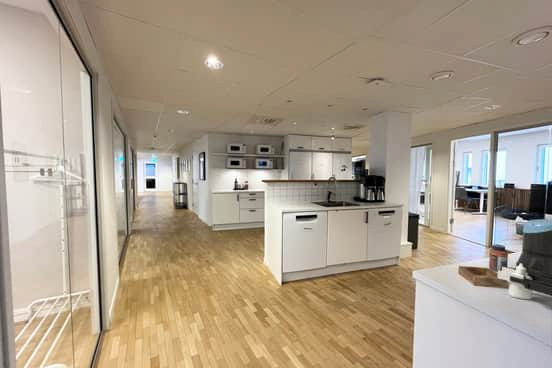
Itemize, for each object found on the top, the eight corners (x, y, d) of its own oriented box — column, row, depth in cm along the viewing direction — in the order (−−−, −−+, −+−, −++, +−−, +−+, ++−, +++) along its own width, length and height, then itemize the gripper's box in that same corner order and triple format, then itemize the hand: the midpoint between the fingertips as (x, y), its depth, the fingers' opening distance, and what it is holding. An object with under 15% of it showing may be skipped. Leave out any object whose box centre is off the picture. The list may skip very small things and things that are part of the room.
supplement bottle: (485, 266, 109) (486, 243, 108) (500, 267, 108) (501, 243, 107) (494, 272, 103) (496, 247, 102) (510, 273, 102) (512, 248, 101)
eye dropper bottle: (531, 302, 79) (532, 267, 79) (508, 295, 83) (509, 263, 83) (531, 297, 82) (533, 264, 81) (509, 291, 86) (510, 260, 86)
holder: (487, 275, 100) (487, 267, 99) (507, 288, 89) (507, 279, 89) (458, 273, 102) (458, 265, 102) (474, 285, 91) (474, 276, 91)
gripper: (606, 324, 63) (492, 288, 82) (609, 303, 72) (506, 276, 92) (608, 297, 62) (493, 268, 82) (611, 280, 72) (507, 257, 91)
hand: (500, 272), depth 87 cm, fingers closed on eye dropper bottle, 4 cm apart
